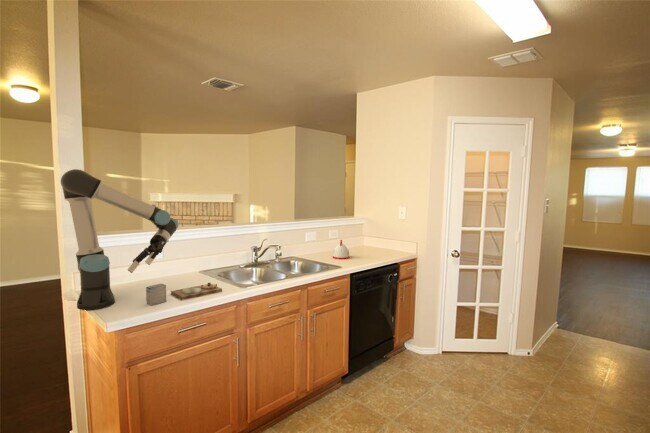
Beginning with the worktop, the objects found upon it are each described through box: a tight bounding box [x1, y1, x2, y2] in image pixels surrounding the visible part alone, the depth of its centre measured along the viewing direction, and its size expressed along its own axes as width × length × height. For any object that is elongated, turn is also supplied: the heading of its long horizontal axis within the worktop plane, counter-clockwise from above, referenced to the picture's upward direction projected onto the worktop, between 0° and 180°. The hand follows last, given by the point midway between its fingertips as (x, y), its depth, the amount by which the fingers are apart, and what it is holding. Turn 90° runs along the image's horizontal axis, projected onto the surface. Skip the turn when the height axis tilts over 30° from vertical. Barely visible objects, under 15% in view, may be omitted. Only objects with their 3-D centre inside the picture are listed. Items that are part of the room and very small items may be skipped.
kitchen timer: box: [332, 239, 350, 261], centre depth 289 cm, size 14×14×15 cm
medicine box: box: [145, 283, 167, 307], centre depth 170 cm, size 8×4×9 cm, turn 147°
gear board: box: [170, 282, 223, 301], centre depth 188 cm, size 22×14×4 cm, turn 135°
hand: (138, 267), depth 172 cm, fingers open, 13 cm apart
